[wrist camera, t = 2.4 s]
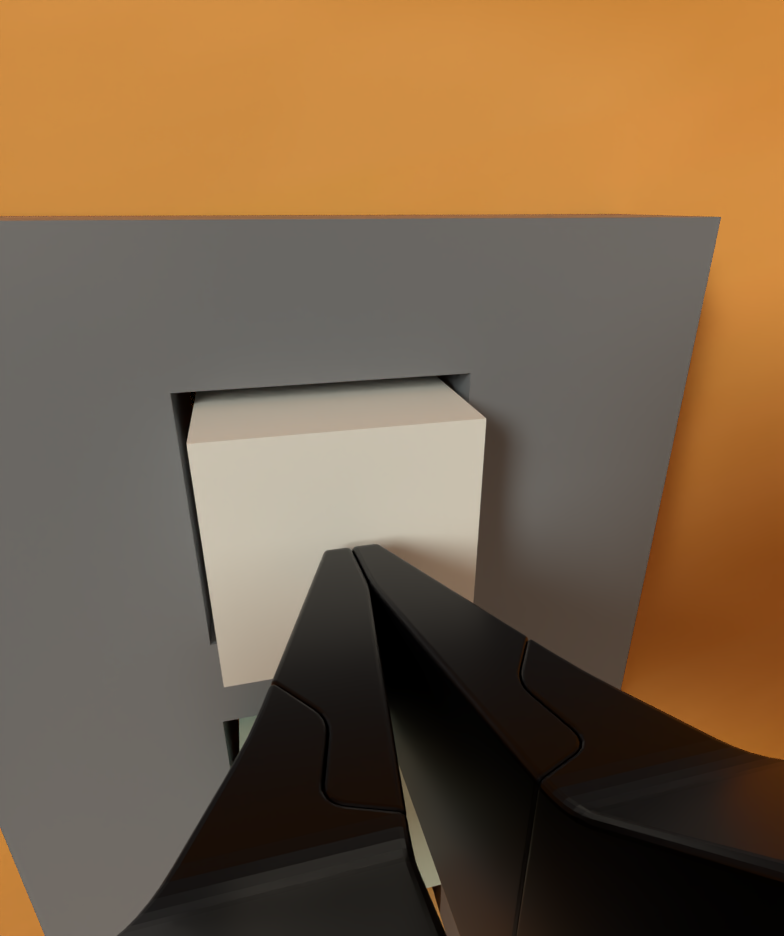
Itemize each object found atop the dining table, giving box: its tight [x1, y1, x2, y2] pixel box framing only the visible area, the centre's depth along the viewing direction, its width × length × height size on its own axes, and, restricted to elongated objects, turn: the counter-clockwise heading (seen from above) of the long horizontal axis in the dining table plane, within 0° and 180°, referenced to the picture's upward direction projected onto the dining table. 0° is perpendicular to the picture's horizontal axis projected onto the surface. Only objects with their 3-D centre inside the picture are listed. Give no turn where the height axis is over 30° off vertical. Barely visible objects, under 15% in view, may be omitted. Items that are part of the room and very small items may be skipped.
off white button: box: [187, 376, 486, 687], centre depth 11 cm, size 4×4×3 cm
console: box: [0, 214, 721, 936], centre depth 15 cm, size 14×24×3 cm, turn 0°
